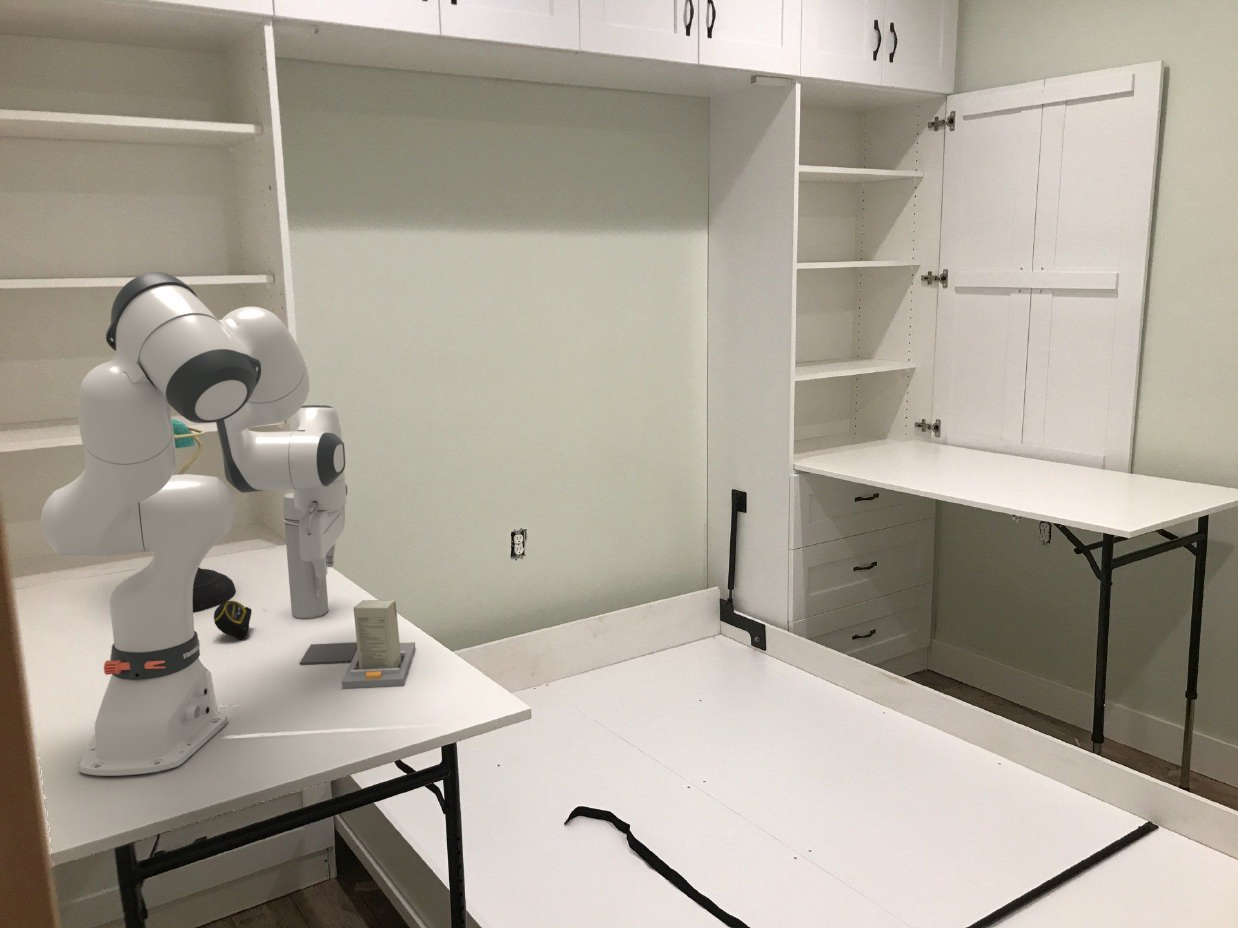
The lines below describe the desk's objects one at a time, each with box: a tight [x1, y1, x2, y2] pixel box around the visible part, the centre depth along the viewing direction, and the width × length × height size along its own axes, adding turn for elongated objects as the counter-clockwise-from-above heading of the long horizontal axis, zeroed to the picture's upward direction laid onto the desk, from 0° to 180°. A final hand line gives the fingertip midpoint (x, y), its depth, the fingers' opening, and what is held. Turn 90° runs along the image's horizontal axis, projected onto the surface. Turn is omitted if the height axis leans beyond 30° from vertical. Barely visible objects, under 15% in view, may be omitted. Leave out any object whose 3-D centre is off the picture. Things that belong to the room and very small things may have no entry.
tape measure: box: [213, 600, 253, 640], centre depth 187 cm, size 7×7×4 cm
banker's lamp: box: [172, 418, 237, 614], centre depth 206 cm, size 26×23×40 cm
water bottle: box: [282, 492, 329, 620], centre depth 196 cm, size 9×8×25 cm
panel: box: [341, 641, 416, 690], centre depth 171 cm, size 17×10×2 cm, turn 5°
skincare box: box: [353, 599, 402, 670], centre depth 169 cm, size 6×4×12 cm
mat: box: [299, 641, 357, 666], centre depth 178 cm, size 9×9×1 cm
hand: (325, 571), depth 175 cm, fingers open, 5 cm apart
